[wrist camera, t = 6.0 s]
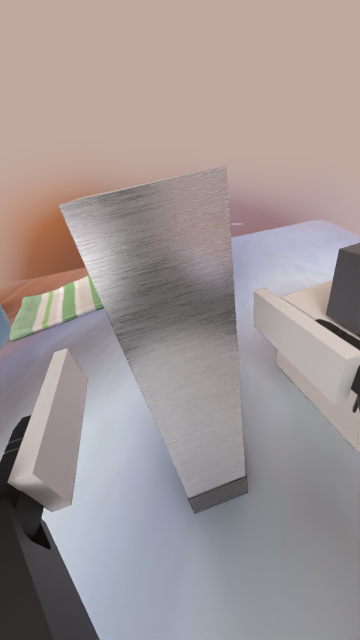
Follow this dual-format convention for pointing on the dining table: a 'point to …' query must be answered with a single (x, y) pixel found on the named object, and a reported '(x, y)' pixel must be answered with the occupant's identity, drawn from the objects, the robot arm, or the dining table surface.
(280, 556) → the dining table surface
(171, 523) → the dining table surface
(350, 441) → the bevelled white plinth
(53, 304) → the dish towel
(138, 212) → the white tall square post
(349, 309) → the knob
